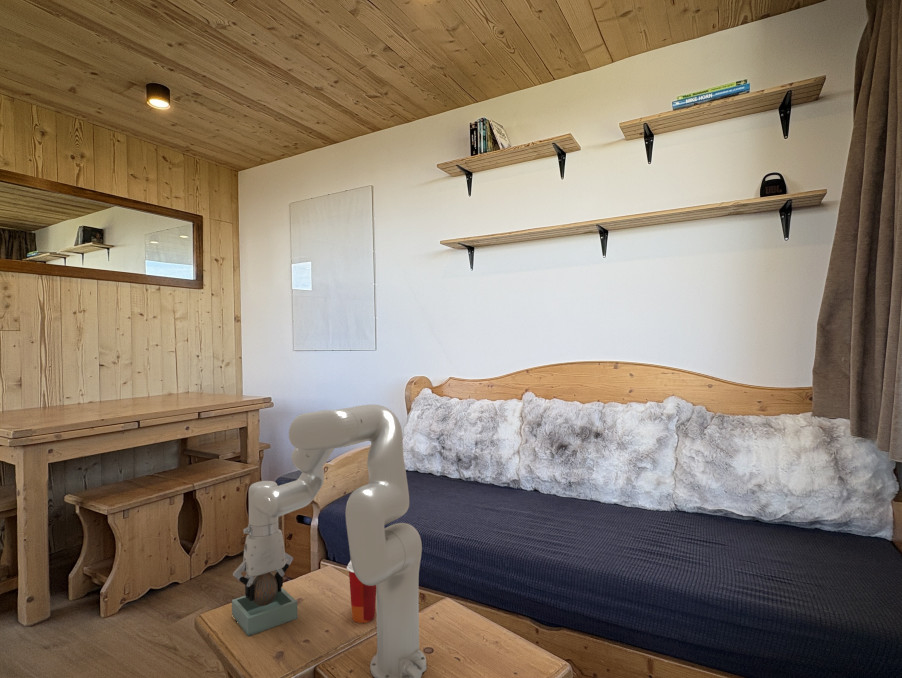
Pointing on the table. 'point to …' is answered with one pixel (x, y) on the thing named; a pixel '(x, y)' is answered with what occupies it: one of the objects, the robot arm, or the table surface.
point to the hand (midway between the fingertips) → (264, 594)
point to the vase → (264, 589)
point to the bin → (264, 613)
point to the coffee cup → (361, 598)
